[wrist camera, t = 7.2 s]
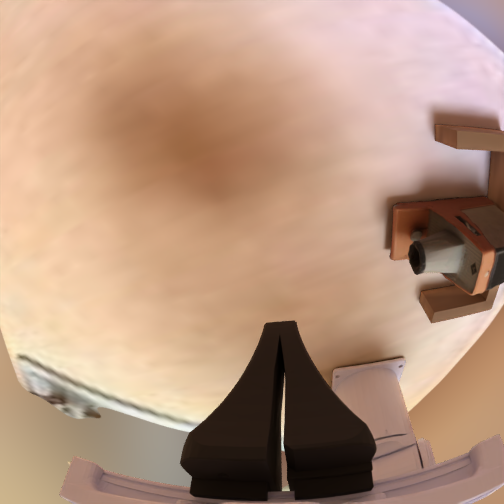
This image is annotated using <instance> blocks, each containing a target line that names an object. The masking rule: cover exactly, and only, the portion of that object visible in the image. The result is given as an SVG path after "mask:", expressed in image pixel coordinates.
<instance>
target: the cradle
mask: <svg viewBox="0 0 504 504" xmlns="http://www.w3.org/2000/svg"><path fill="white" fill-rule="evenodd" d="M435 141H437V142H440V143H443V144H445V145H448V146H451V147H453V148H456V149H468V150H487V151H491V162H490V176H489V187H488V197H487V198H488V199H490V200H491V201H493V203H494V204H495V205H496V207H497V208H499V209H500V210H501V211H502V212H503V213H504V131H501V130H494V129H485V128H476V127H465V126H452V125H435ZM498 288H499V285H497V286H495V287H493V288H492V289H490V290H486V291H484V292H482V293H478V294H475V295H469V294H468V293H466V292H465V291H463V290H462V289H461V288H459V287H457V286H456V285H454V286H449V287H443V288H437V289H431V290H425V291H421V296H420V301H419V302H420V304H421V306H422V307H423V309H424V311H425V313H426V314H427V316H428V318H429V320H430V322H431V323H435V322H440V321H445V320H449V319H454V318H458V317H462V316H466V315H471V314H475V313H479V312H482V311H486V310H490V309H491V308H492V306H493V303H494V300H495V297H496V294H497V291H498Z"/></svg>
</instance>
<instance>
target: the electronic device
mask: <svg viewBox="0 0 504 504" xmlns="http://www.w3.org/2000/svg"><path fill="white" fill-rule="evenodd" d="M392 211H393V227H392V244H391V253H390V259H392V260H394V261H395V260H405V259H408V260H409V263H410V265H411V267H412V269H413V271H414V273H415V274H416V275H418V274H421V273H441V274H443V276H444V277H445V278H446V279H448V280H450V281H451V282H453V283H454V284H455V285H456V286H457V287H459V288H461V289H462V290H463V291H465V292H466V293H468V294H469V295H475V294H478V293H482V292H484V291H486V290H490V289H492V288H493V287H495V286H497V285H500V284H502V283H503V282H504V213H503V212H502V211H501V210H500V209H499V208H497V207H496V205H495V204H494V203H493V201H491V200H490V199H488V198H487V197H484V196H481V197H472V198H456V199H454V198H449V199H440V200H439V199H436V200H433V201H425V202H423V201H419V202H410V203H397V204H396V205H394V206H393V208H392Z"/></svg>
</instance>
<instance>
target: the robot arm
mask: <svg viewBox="0 0 504 504" xmlns="http://www.w3.org/2000/svg"><path fill="white" fill-rule="evenodd" d="M405 363H406V360H405V358H398V359H393V360H387V361H382V362H376V363H370V364H363V365H357V366H350V367H343V368H336V369H334V370H333V376H332V389H331V388H330V387H329V385H328V384H327V383H326V381H325V380H324V379H323V377H322V376H321V374H320V373H319V371H318V370H317V368H316V366H315V365H314V363H313V361H312V360H311V358H310V356H309V354H308V352H307V350H306V348H305V346H304V344H303V342H302V339H301V337H300V334H299V331H298V327H297V322H295V321H282V322H270V323H266V324H265V325H264V329H263V332H262V335H261V338H260V341H259V343H258V346H257V348H256V350H255V352H254V354H253V356H252V358H251V360H250V362H249V364H248V366H247V368H246V369H245V371H244V373H243V375H242V376H241V378H240V379H239V381H238V382H237V384H236V385H235V387H234V388H233V389H232V391H231V392H230V393H229V394H228V396H227V397H226V398H225V399H224V401H223V402H222V403H221V404H220V405H219V406H218V407H217V408H216V409H215V410H214V411H213V412H212V413H211V414H210V415H209V416H208V417H207V418H206V419H205V420H204V421H203V422H202V423H201V424H199V425H198V426H197V427H196V428H195V429H194V430H192V431H191V432H190V433H189V435H188V437H187V439H186V442H185V445H184V447H183V451H182V456H181V461H180V464H181V466H182V467H183V468H184V469H185V470H186V471H187V472H188V473H189V474H190V475H191V476H192V481H191V487H183V486H177V485H170V484H164V483H158V482H153V481H147V480H143V479H139V478H134V477H129V476H125V475H122V474H118V473H114V472H110V471H107V470H103V468H101V467H100V466H99V465H98V464H96V463H94V462H91V461H89V460H86V459H83V458H79V457H77V456H74V457H73V459H72V461H71V464H70V467H69V469H68V472H67V475H66V477H65V480H64V483H63V486H62V489H61V491H60V494H59V495H60V497H62V498H64V499H65V500H68V501H69V502H71V503H73V504H472V503H474V502H476V501H478V500H480V499H482V498H484V497H486V496H488V495H490V494H491V493H493V492H494V491H496V490H497V489H499V488H500V487H502V486H503V485H504V445H503V442H502V440H501V437H500V435H499V434H497V435H495V436H493V437H491V438H489V439H486V440H484V441H482V442H480V443H478V444H477V445H475V446H474V447H473V448H472V449H471V450H470V451H469V452H468V453H466V454H463V455H461V456H458V457H456V458H453V459H450V460H447V461H444V462H441V463H438V464H435V460H434V456H433V452H432V449H431V445H430V442H429V441H428V440H426V439H425V440H424V438H421V439H419V440H418V444H419V447H418V444H417V441H416V438H415V435H414V433H413V430H412V426H411V422H410V418H409V415H408V411H407V408H406V405H405V401H404V398H403V395H402V391H401V388H400V385H399V381H400V378H401V375H402V372H403V369H404V366H405ZM284 373H285V424H284V443H283V444H284V449H285V455H286V461H287V481H288V484H289V489H290V491H282V472H281V471H282V468H281V410H282V399H283V387H284Z"/></svg>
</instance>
